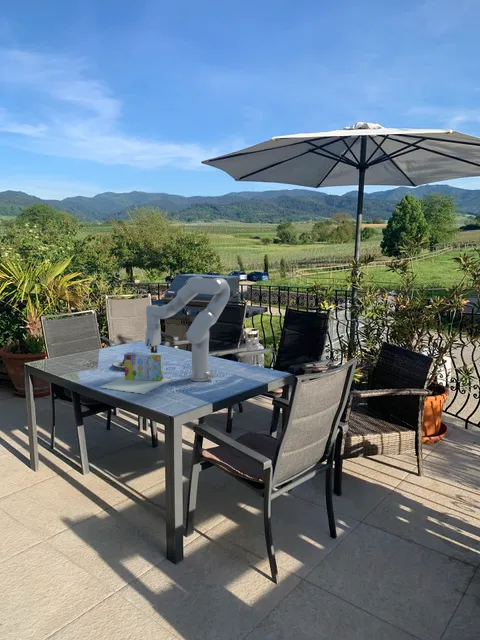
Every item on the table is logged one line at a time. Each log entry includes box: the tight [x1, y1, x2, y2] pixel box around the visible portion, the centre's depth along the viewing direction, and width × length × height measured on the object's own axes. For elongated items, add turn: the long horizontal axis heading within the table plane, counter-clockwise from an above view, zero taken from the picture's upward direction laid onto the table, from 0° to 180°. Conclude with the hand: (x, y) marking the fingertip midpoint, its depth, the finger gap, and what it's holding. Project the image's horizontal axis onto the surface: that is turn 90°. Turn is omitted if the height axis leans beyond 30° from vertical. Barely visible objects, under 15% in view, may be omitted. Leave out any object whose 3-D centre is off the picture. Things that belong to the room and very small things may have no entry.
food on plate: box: [111, 358, 125, 369], centre depth 271 cm, size 25×25×7 cm
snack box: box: [123, 351, 164, 381], centre depth 240 cm, size 21×6×15 cm, turn 84°
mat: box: [100, 375, 172, 395], centre depth 234 cm, size 28×27×1 cm
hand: (154, 357), depth 249 cm, fingers closed
